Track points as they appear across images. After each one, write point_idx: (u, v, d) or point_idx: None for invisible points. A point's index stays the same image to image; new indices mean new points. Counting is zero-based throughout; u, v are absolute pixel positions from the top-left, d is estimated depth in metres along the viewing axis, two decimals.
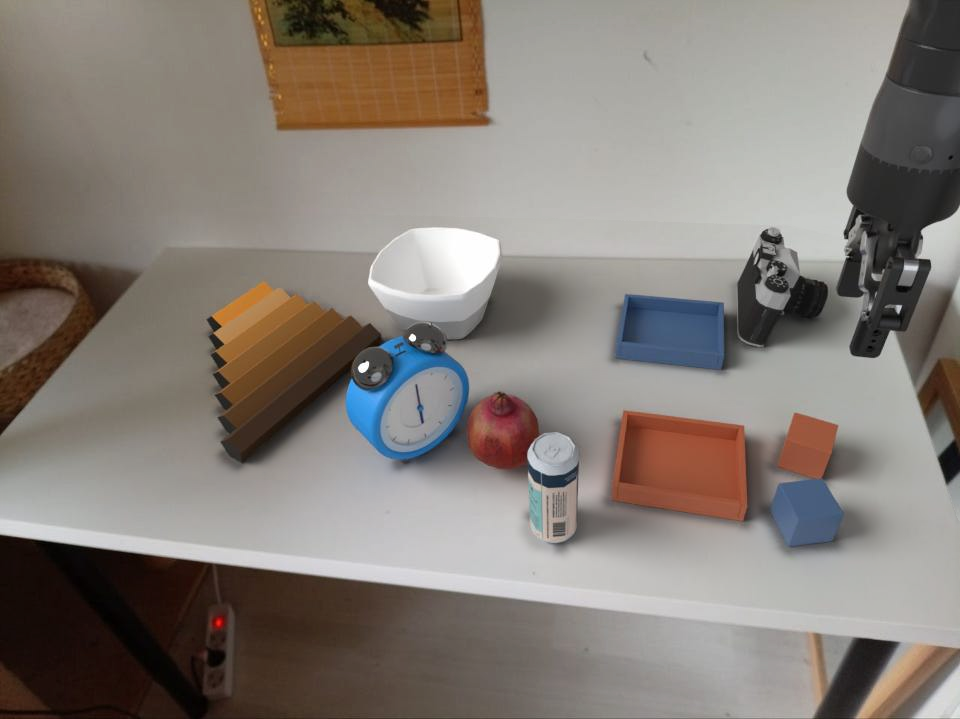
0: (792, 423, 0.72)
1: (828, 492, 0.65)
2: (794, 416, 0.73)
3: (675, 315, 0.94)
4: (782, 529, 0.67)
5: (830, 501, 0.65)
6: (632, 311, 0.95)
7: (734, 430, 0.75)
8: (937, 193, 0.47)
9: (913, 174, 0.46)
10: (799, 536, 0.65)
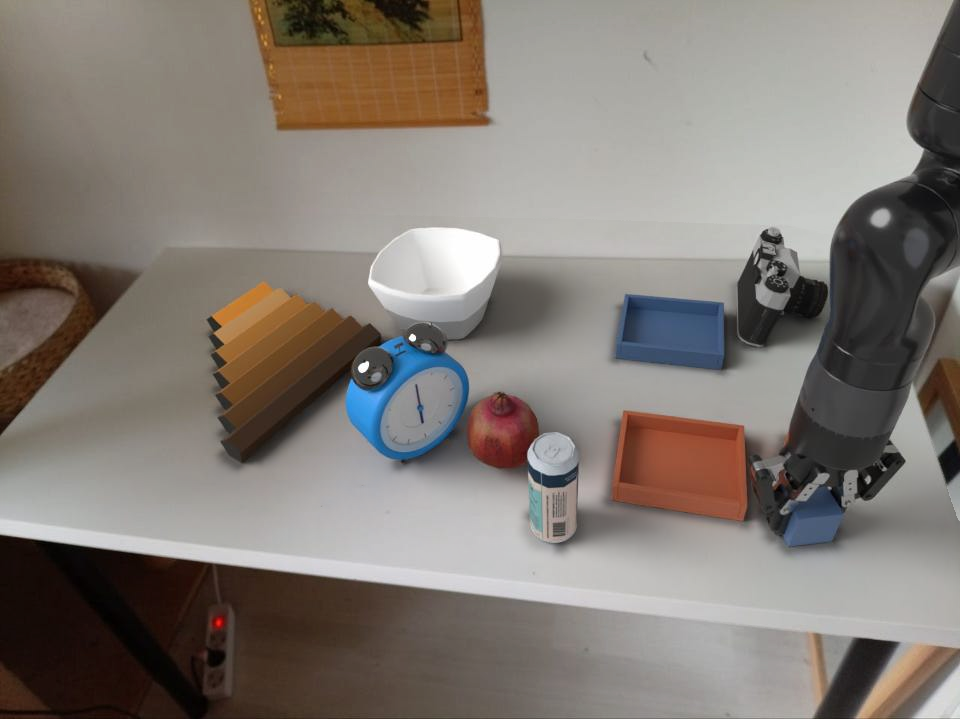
0: None
1: (828, 493, 0.65)
2: None
3: (675, 315, 0.94)
4: None
5: (830, 501, 0.65)
6: (632, 311, 0.95)
7: (734, 430, 0.75)
8: (805, 431, 0.57)
9: (799, 405, 0.58)
10: (799, 536, 0.65)
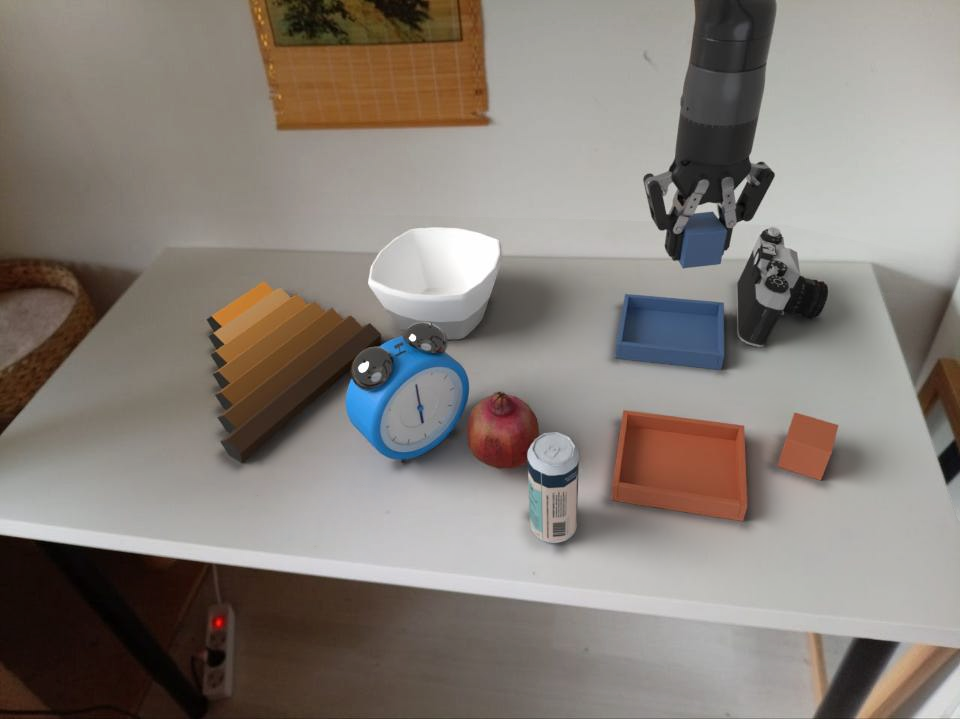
0: (792, 423, 0.72)
1: (716, 219, 0.76)
2: (794, 416, 0.73)
3: (675, 315, 0.94)
4: None
5: (716, 223, 0.76)
6: (632, 311, 0.95)
7: (734, 430, 0.75)
8: (684, 135, 0.68)
9: (680, 115, 0.69)
10: (691, 255, 0.76)
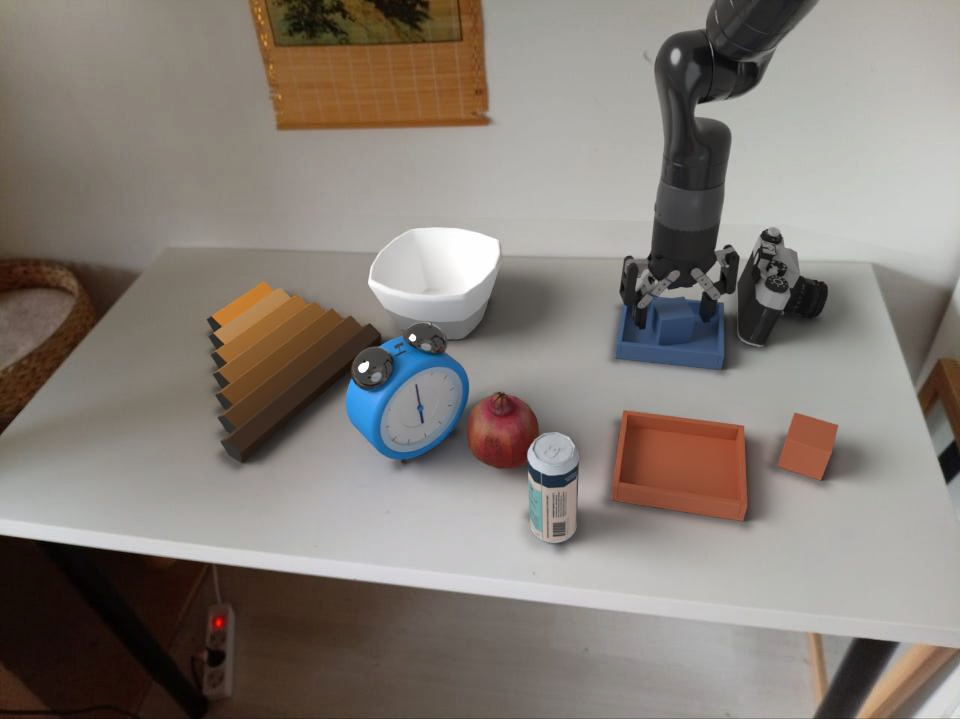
0: (792, 423, 0.72)
1: (686, 304, 0.89)
2: (794, 416, 0.73)
3: None
4: (654, 335, 0.90)
5: (686, 309, 0.88)
6: None
7: (734, 430, 0.75)
8: (657, 235, 0.80)
9: (654, 217, 0.80)
10: (664, 336, 0.88)
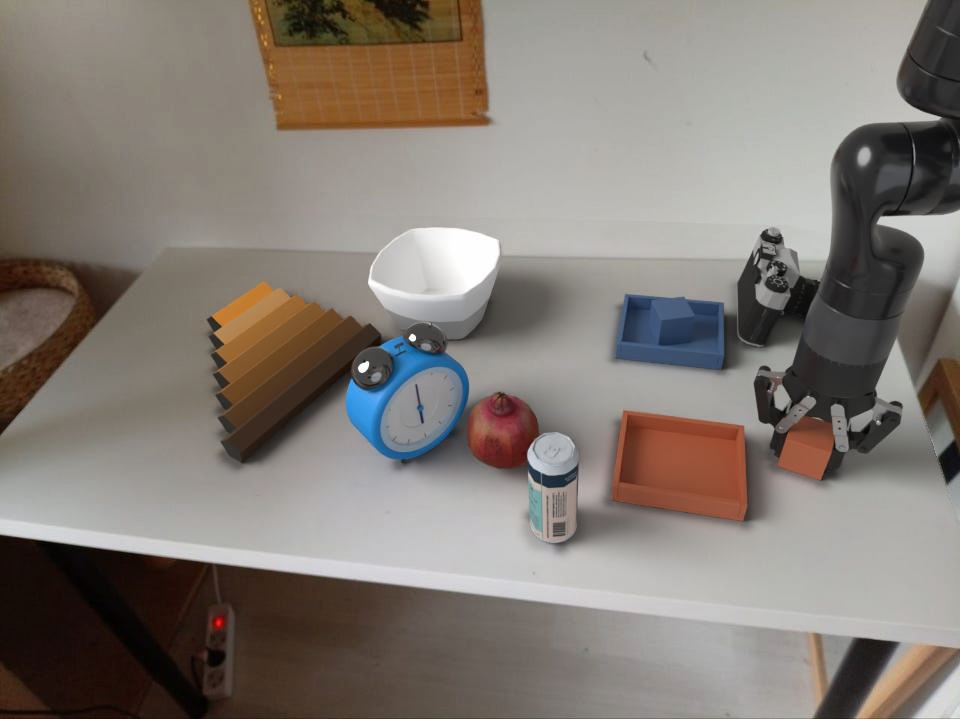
0: None
1: (686, 304, 0.89)
2: None
3: None
4: (654, 335, 0.90)
5: (686, 309, 0.88)
6: (632, 311, 0.95)
7: (734, 430, 0.75)
8: (798, 348, 0.65)
9: None
10: (664, 336, 0.88)
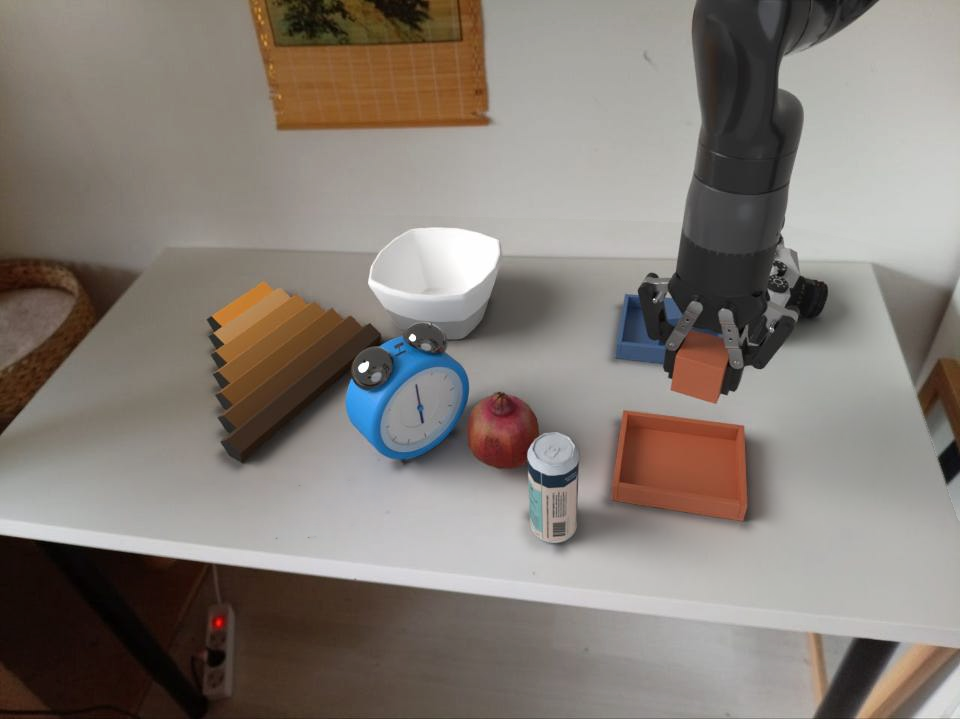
0: (685, 340, 0.64)
1: None
2: (689, 333, 0.65)
3: None
4: None
5: None
6: (632, 311, 0.95)
7: (734, 430, 0.75)
8: None
9: None
10: None
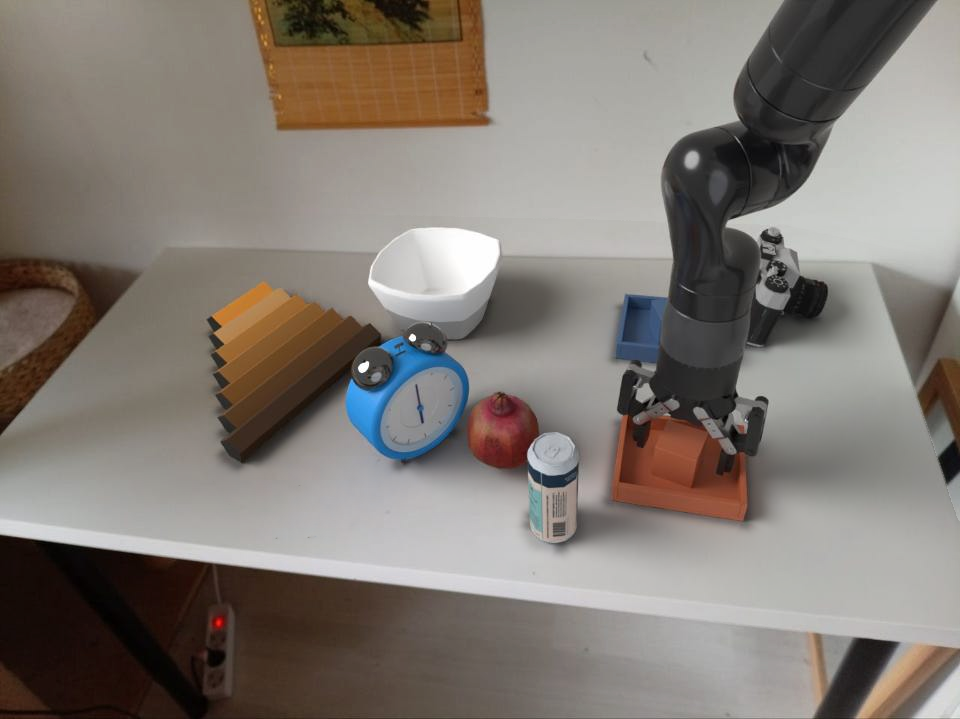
0: (663, 431, 0.72)
1: None
2: (667, 424, 0.73)
3: None
4: (654, 335, 0.90)
5: None
6: (632, 311, 0.95)
7: None
8: (658, 350, 0.65)
9: None
10: None
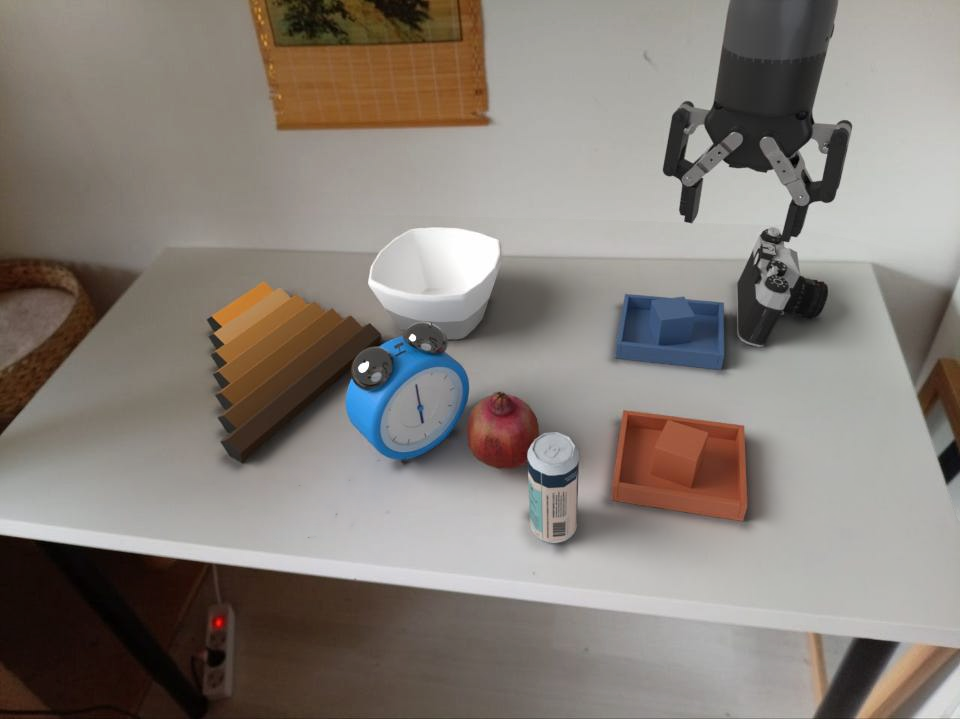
0: (663, 431, 0.72)
1: (686, 304, 0.89)
2: (667, 424, 0.73)
3: None
4: (654, 335, 0.90)
5: (686, 309, 0.88)
6: (632, 311, 0.95)
7: (734, 430, 0.75)
8: (719, 66, 0.54)
9: None
10: (664, 336, 0.88)
